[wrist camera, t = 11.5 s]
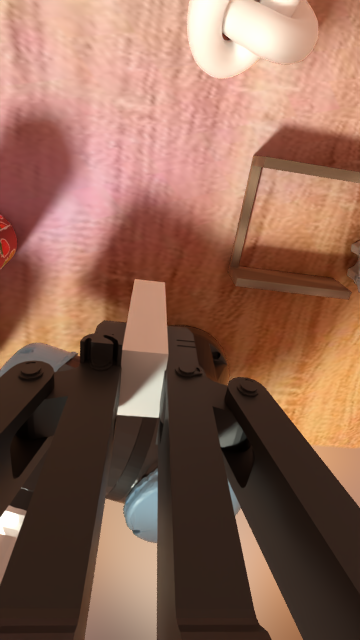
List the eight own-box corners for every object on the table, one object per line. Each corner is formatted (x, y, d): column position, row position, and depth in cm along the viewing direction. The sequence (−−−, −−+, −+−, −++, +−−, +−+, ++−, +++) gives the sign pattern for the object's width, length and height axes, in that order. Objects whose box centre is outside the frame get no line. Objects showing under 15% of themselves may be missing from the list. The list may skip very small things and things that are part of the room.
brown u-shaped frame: (330, 285, 46) (348, 299, 42) (227, 272, 44) (235, 286, 40) (370, 175, 40) (397, 178, 36) (253, 155, 38) (265, 156, 34)
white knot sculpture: (217, 120, 37) (233, 113, 29) (153, -4, 32) (151, -55, 24) (312, 50, 34) (359, 20, 26) (259, -96, 29) (297, -187, 21)
